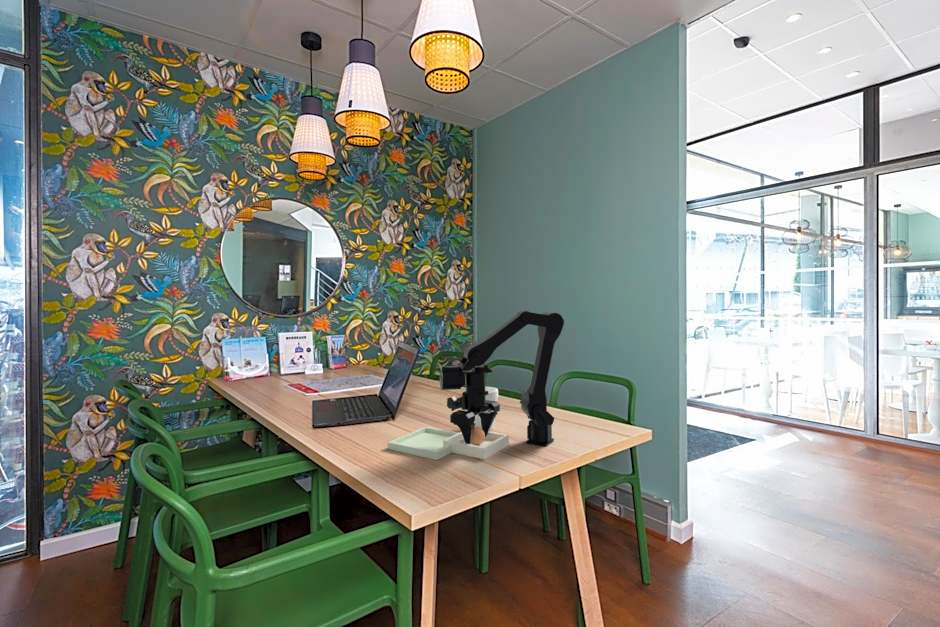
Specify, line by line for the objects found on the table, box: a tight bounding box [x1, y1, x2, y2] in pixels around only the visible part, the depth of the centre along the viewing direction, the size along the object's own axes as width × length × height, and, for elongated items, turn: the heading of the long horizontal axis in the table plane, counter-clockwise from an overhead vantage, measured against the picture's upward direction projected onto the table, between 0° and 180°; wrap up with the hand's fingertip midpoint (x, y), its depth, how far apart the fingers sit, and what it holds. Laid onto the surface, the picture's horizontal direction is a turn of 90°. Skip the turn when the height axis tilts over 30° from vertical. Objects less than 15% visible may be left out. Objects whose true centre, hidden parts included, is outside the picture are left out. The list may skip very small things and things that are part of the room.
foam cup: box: [474, 386, 499, 431], centre depth 151 cm, size 10×9×13 cm
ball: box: [471, 427, 485, 445], centre depth 132 cm, size 5×5×5 cm
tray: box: [387, 426, 465, 461], centre depth 135 cm, size 18×18×2 cm
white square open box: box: [443, 430, 510, 460], centre depth 132 cm, size 14×14×3 cm
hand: (476, 440), depth 132 cm, fingers open, 9 cm apart
